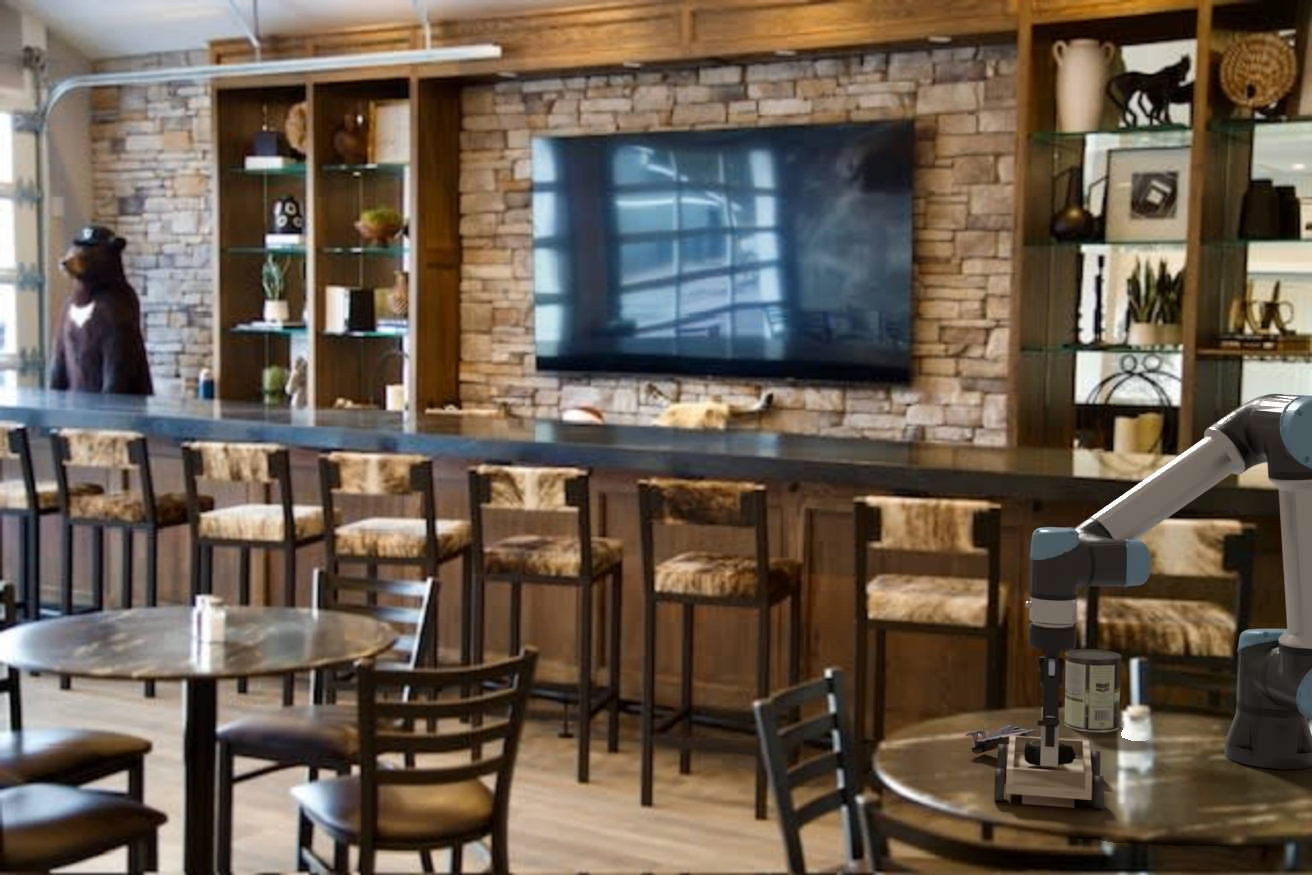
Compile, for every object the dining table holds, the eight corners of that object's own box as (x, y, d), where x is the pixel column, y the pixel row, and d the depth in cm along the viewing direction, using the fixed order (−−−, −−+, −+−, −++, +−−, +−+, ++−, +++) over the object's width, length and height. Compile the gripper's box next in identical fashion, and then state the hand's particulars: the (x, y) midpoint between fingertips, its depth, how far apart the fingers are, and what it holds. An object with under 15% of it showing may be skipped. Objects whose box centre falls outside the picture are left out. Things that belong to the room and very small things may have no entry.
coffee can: (1089, 718, 314) (1091, 646, 313) (1131, 730, 306) (1133, 656, 305) (1051, 725, 309) (1053, 651, 308) (1092, 736, 300) (1094, 661, 299)
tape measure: (1041, 771, 260) (1041, 748, 260) (1015, 763, 266) (1015, 741, 266) (1076, 768, 263) (1076, 744, 263) (1050, 760, 269) (1050, 738, 269)
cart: (998, 768, 277) (998, 734, 277) (1098, 775, 273) (1099, 740, 273) (993, 804, 256) (994, 767, 255) (1103, 813, 252) (1104, 775, 251)
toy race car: (1045, 735, 279) (1038, 711, 280) (1024, 735, 275) (1018, 712, 276) (987, 753, 288) (981, 730, 289) (966, 754, 284) (961, 731, 286)
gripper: (1029, 610, 275) (1026, 737, 276) (1027, 634, 252) (1024, 773, 253) (1075, 612, 273) (1071, 740, 275) (1077, 637, 250) (1073, 776, 252)
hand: (1048, 756), depth 264 cm, fingers open, 11 cm apart
